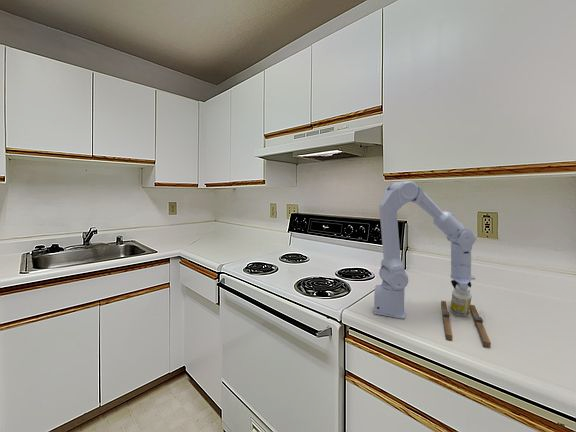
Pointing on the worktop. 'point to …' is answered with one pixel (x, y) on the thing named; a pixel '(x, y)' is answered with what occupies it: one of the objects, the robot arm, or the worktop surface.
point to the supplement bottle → (461, 301)
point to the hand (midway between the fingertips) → (461, 302)
